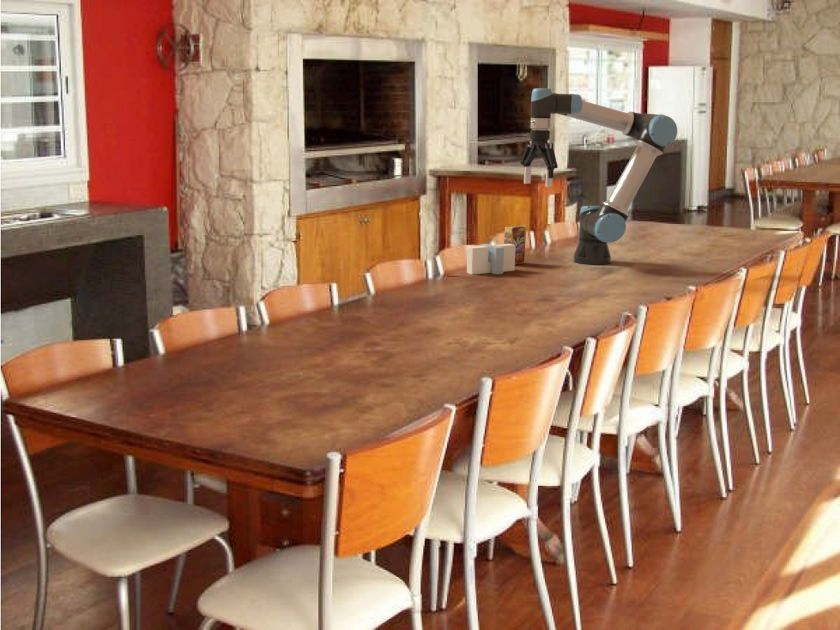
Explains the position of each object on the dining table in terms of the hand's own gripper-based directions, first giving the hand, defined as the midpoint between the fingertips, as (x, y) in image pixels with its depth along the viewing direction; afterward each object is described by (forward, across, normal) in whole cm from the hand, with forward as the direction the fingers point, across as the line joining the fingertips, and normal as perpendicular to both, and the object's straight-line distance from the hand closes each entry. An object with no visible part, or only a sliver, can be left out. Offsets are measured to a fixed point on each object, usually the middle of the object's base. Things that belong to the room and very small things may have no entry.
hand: (537, 185), depth 422 cm
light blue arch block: (+33, -1, -20) cm, 38 cm away
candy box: (+33, -12, -1) cm, 35 cm away
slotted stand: (+33, -1, -20) cm, 38 cm away
